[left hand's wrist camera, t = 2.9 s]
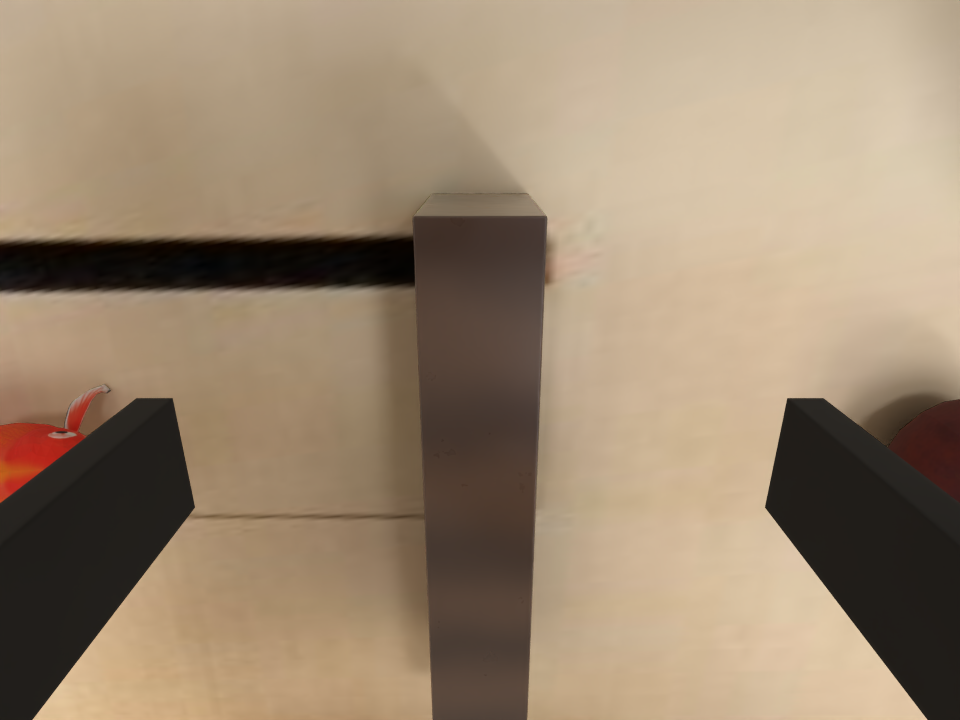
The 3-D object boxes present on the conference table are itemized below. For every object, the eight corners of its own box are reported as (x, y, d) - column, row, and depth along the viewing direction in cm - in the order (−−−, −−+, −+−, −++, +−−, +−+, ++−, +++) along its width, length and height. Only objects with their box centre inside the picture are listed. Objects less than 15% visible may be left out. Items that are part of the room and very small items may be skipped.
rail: (431, 193, 27) (412, 215, 20) (528, 193, 27) (547, 216, 20) (443, 629, 36) (434, 757, 29) (516, 629, 36) (525, 757, 29)
